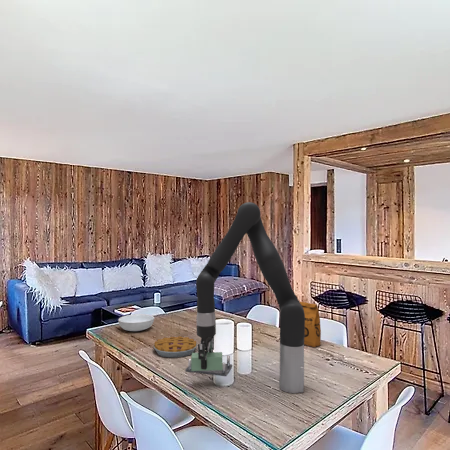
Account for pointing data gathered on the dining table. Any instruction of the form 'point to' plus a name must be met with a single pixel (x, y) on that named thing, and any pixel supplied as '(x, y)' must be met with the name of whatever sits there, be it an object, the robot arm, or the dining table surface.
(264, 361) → the dining table surface
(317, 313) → the coffee package
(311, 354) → the dining table surface
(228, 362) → the chassis
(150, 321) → the serving bowl
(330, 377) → the dining table surface
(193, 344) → the pie
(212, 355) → the board
